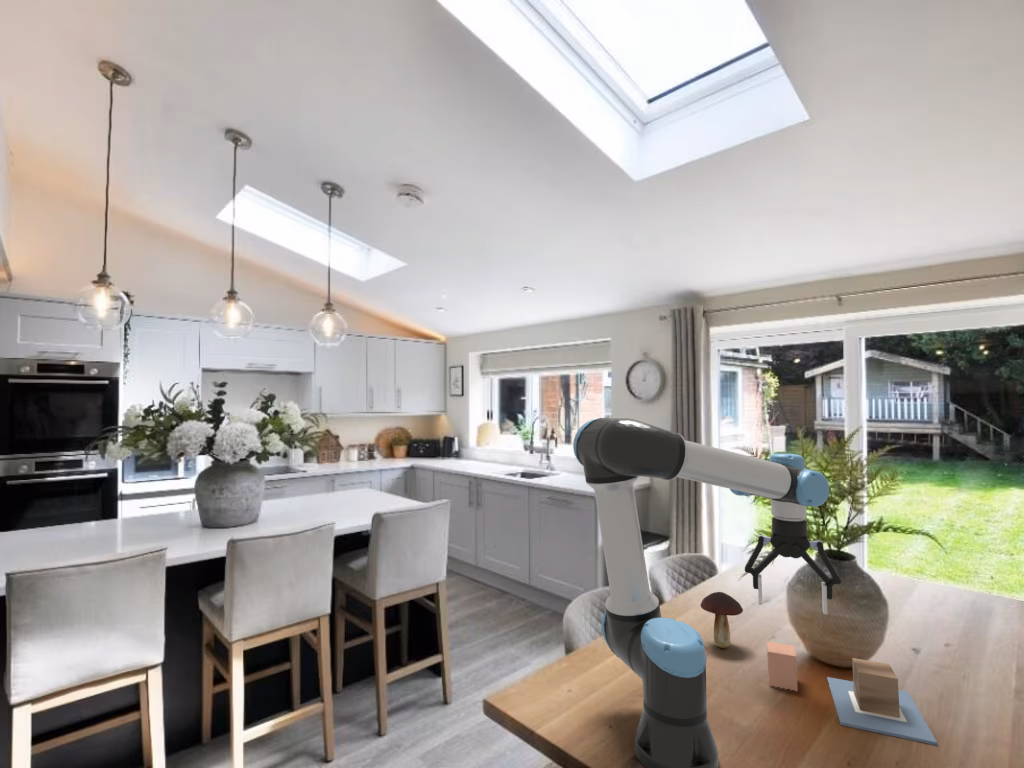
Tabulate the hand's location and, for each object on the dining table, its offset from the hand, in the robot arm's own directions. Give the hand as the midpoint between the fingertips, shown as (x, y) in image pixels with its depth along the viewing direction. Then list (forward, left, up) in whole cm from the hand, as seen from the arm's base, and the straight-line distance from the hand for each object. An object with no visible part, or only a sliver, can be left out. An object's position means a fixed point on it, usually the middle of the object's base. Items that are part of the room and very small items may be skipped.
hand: (791, 607), depth 122 cm
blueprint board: (-3, -15, -18) cm, 24 cm away
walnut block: (-3, -15, -18) cm, 24 cm away
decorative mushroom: (+15, +17, -19) cm, 29 cm away
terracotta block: (+1, +3, -18) cm, 19 cm away
